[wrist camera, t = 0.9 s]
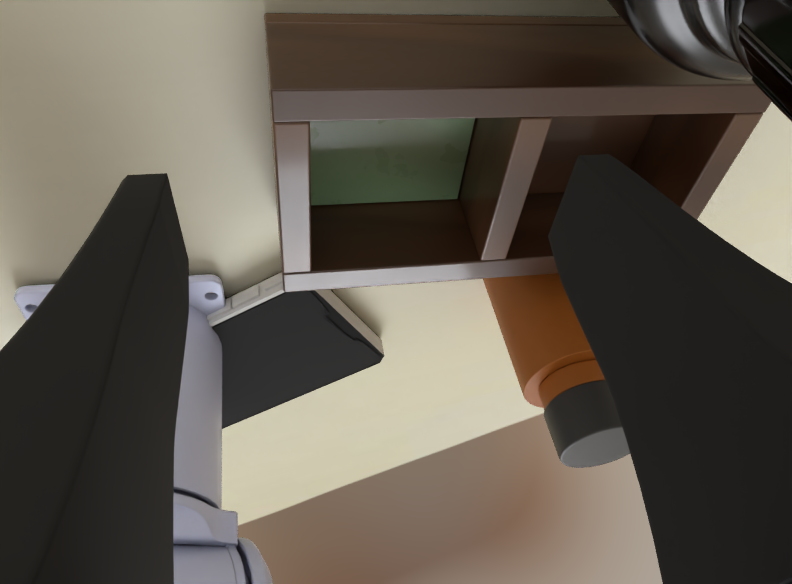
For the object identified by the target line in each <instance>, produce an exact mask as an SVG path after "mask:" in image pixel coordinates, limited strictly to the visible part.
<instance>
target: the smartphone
mask: <svg viewBox="0 0 792 584" xmlns="http://www.w3.org/2000/svg"><path fill="white" fill-rule="evenodd" d="M207 320H208V321H209V325H210V326H211V327H212V329H213V330H214V331H215V333H216V334H217V335H218V337H219V339H220V342H221V344H222V429H223V428H225V427H228V426H230V425H232V424H235V423H237V422H240V421H242V420H244V419H247V418H249V417H251V416H254V415H256V414H259V413H261V412H263V411H266V410H268V409H271V408H273V407H275V406H278V405H280V404H282V403H285V402H287V401H290V400H292V399H294V398H297V397H299V396H302V395H304V394H306V393H309V392H311V391H314V390H316V389H318V388H321V387H323V386H325V385H328V384H330V383H333V382H335V381H337V380H340V379H342V378H345V377H347V376H349V375H352V374H354V373H357V372H359V371H361V370H364V369H366V368H368V367H371V366H373V365H376V364H378V363H380V362H381V360H382V358H383V357H384V352H383V346H382V341H381V339H380V338H379V337H378V336H377V335H376V334H375V333H374V332H373V331H372V330H371V329H370V328H369V327H368V326H367V325H366V324H365V323H364V322H362V321H361V320H360V319H359V318H358V317H357V316H356V315H355V314H354V313H353V312H352V311H351V310H350V309H349V308H348V307H347V306H346V305H345V304H344V303H343V302H342V301H341V300H340V299H339V298H338V297H337V296H336V295H335V294H334V293H333V292H332V291H331V290H330V289H324V290H310V291H295V292H284V291H283V281H282V272H281V273H279V274H277V275H275V276H273V277H271V278H269V279H266V280H264V281H262V282H260V283H258V284H256V285H254V286H252V287H250V288H248V289H246V290H244V291H242V292H240V293H238V294H236V295H233V296H231V297H229V298H227V299H225V307H224V308H222V309H220V310H218V311H216V312H214V313H211V314H209V315H207Z"/></svg>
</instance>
